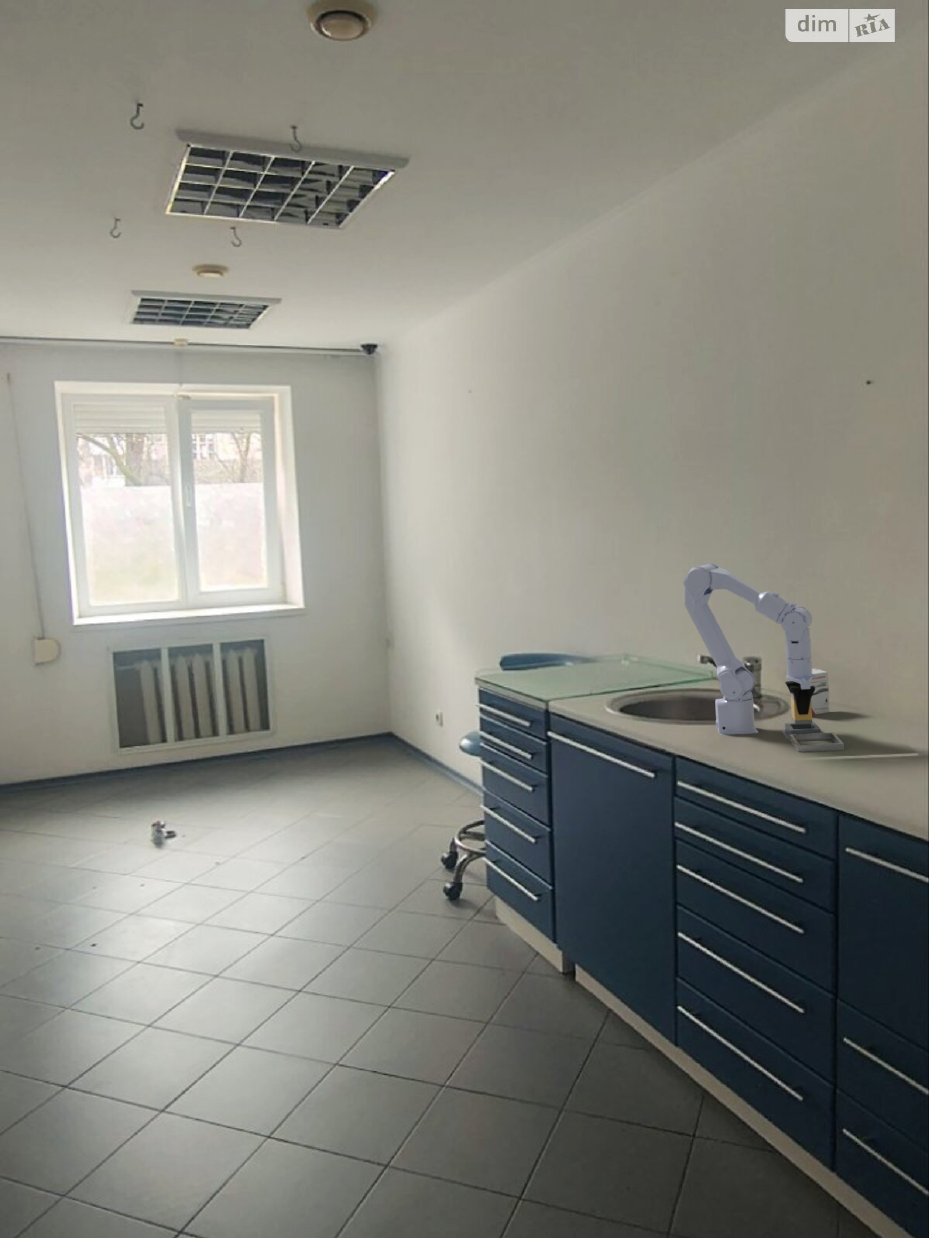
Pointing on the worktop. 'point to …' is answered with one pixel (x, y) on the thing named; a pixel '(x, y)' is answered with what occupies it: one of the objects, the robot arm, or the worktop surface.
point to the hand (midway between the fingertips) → (801, 712)
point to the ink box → (820, 692)
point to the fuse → (800, 718)
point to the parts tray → (816, 747)
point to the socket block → (800, 729)
